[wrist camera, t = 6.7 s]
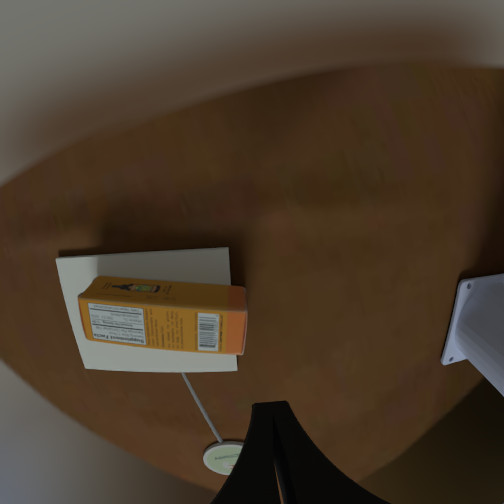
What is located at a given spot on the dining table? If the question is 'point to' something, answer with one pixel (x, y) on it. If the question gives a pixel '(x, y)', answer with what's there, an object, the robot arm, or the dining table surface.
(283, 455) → the robot arm
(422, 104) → the dining table surface
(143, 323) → the supplement box
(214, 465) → the sign
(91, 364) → the mat
